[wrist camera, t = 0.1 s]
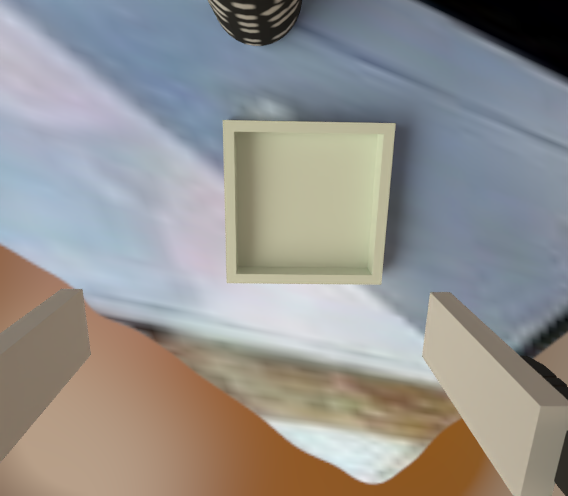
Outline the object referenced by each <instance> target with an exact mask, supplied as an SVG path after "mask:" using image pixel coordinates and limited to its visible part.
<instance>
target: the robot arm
mask: <svg viewBox="0 0 568 496" xmlns="http://www.w3.org/2000/svg"><path fill="white" fill-rule="evenodd" d="M90 355H91V352H90V345H89V337H88V329H87V321H86V315H85V306H84V298H83V290H82V289H61V290H60V291H58V292H57V293H55V294H54V295H53V296H51V297H50V298H48V299H47V300H46V301H44V302H43V303H42V304H40V305H39V306H37V307H36V308H35V309H33V310H32V311H31V312H29V313H28V314H27V315H25V316H24V317H22V318H21V319H19V320H18V321H17V322H15V323H14V324H13V325H11V326H10V327H9V328H7V329H6V330H4V331H3V332H2V333H0V462H1V461H2V460H3V459H4V458H5V456H6V455H7V454H8V453H9V452H10V450H11V449H12V448H13V447H14V446H15V445H16V443H17V442H18V441H19V440H20V439H21V437H22V436H23V435H24V434H25V433H26V431H27V430H28V429H29V428H30V426H31V425H32V424H33V423H34V422H35V421H36V419H37V418H38V417H39V416H40V415H41V414H42V412H43V411H44V410H45V409H46V407H47V406H48V405H49V404H50V403H51V402H52V400H53V399H54V398H55V397H56V396H57V394H58V393H59V392H60V391H61V389H62V388H63V387H64V386H65V385H66V384H67V382H68V381H69V380H70V379H71V378H72V376H73V375H74V374H75V373H76V372H77V371H78V369H79V368H80V367H81V366H82V364H83V363H84V362H85V361H86V360H87V359H88V357H89V356H90ZM422 357H423V358H424V360H425V361H426V363H427V365H428V366H429V368H430V369H431V371H432V372H433V374H434V375H435V377H436V378H437V380H438V381H439V383H440V384H441V386H442V387H443V389H444V391H445V392H446V394H447V395H448V397H449V398H450V400H451V401H452V403H453V404H454V406H455V407H456V409H457V410H458V412H459V413H460V415H461V417H462V418H463V420H464V421H465V422H466V424H467V426H468V427H469V429H470V430H471V432H472V433H473V435H474V436H475V438H476V439H477V441H478V443H479V444H480V446H481V447H482V448H483V450H484V452H485V453H486V455H487V456H488V458H489V459H490V461H491V462H492V464H493V465H494V467H495V469H496V470H497V472H498V473H499V475H500V476H501V477H502V479H503V481H504V482H505V484H506V485H507V487H508V488H509V490H510V491H511V493H512V494H513V496H552V493H553V490H554V485H555V483H556V484H557V486H558V487H559V488H560V489H561V491H562V492H563V493H564V494H565V496H568V387H567V385H566V384H565V383H564V382H563V381H562V380H561V379H559V378H557V377H556V375H555V374H554V373H552V372H551V371H550V370H549V369H548V368H547V367H546V366H544V365H543V364H541V363H539V362H537V361H535V360H534V359H532V358H530V357H528V356H519V355H518V354H517V353H516V352H515V351H514V350H512V349H511V348H510V347H509V346H508V345H507V344H506V343H505V342H504V341H503V340H502V339H500V338H499V337H498V336H497V335H496V334H495V333H494V332H493V331H492V330H491V329H490V328H488V327H487V326H486V325H485V324H484V323H483V322H482V321H481V320H480V319H479V318H478V317H476V316H475V315H474V314H473V313H472V312H471V311H470V310H469V309H468V308H467V307H466V306H464V305H463V304H462V303H461V302H460V301H459V300H458V299H457V298H456V297H455V296H454V295H452V294H451V293H450V292H430V298H429V306H428V314H427V322H426V330H425V338H424V346H423V354H422Z"/></svg>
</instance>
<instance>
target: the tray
mask: <svg viewBox="0 0 568 496" xmlns="http://www.w3.org/2000/svg"><path fill="white" fill-rule="evenodd" d="M395 124H396V123H351V122H297V121H243V120H223V146H224V188H225V231H226V273H227V283H273V284H379V285H381V281H382V269H383V258H384V247H385V236H386V225H387V214H388V203H389V191H390V180H391V169H392V158H393V147H394V136H395Z"/></svg>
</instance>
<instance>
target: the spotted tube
mask: <svg viewBox="0 0 568 496" xmlns="http://www.w3.org/2000/svg"><path fill="white" fill-rule="evenodd" d="M208 2H209V4H210V6H211V8H212V9H213V11H214V13H215V15H216V17H217V19H218V21H219V22H220V24H221V26H222V27H223V28H224V30H225V31H226V32H227V33H228V34H229V35H230V36H232V37H233V38H235V39H236V40H238V41H240V42H242V43H244V44H248V45H253V46H263V45H267V44H271V43H273V42H276V41H278V40H279V39H281V38H282V37H283V36H285V35H286V34H287V33H288V32H289V31H290V29H291V28H292V27H293V25H294V24H295V22H296V20H297V18H298V15H299V12H300V9H301V4H302V0H208Z"/></svg>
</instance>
